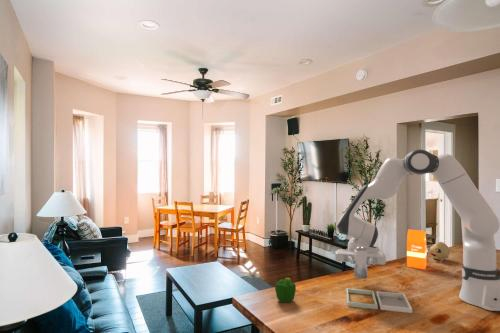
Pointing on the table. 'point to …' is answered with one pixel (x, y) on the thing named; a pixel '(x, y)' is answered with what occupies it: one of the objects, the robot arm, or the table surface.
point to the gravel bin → (393, 302)
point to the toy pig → (439, 251)
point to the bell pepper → (285, 290)
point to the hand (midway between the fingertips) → (360, 262)
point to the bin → (362, 305)
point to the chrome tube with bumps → (360, 262)
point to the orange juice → (416, 249)
